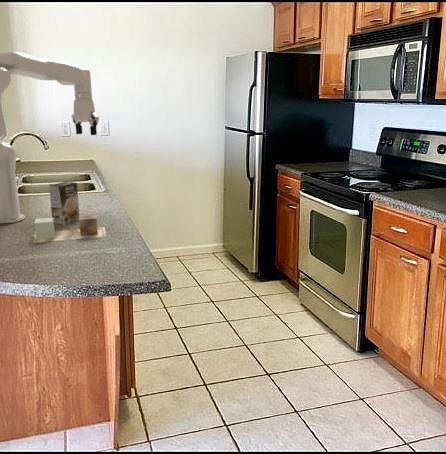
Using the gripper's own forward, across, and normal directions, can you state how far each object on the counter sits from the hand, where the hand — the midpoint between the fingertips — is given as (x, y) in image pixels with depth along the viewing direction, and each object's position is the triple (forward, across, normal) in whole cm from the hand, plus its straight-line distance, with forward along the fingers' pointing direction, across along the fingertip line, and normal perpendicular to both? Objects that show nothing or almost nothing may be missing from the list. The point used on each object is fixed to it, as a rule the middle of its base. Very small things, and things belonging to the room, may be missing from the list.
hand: (86, 134), depth 233 cm
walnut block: (+30, +46, -43) cm, 70 cm away
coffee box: (+32, +25, -36) cm, 54 cm away
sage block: (+30, +36, -54) cm, 72 cm away
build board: (+31, +41, -48) cm, 71 cm away
